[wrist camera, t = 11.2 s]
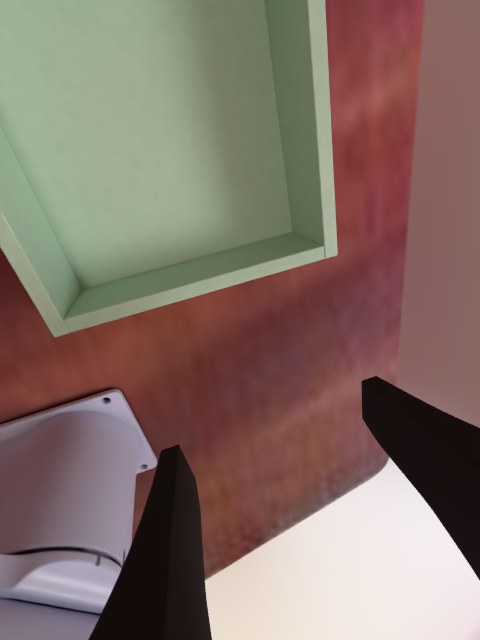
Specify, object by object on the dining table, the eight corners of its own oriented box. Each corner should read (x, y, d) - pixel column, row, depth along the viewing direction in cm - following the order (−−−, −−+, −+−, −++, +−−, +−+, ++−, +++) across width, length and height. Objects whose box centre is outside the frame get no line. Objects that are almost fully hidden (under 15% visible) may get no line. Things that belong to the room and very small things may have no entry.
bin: (77, 301, 17) (53, 338, 13) (-94, -28, 11) (-232, -139, 7) (301, 238, 19) (338, 255, 15) (267, -78, 12) (316, -190, 9)
